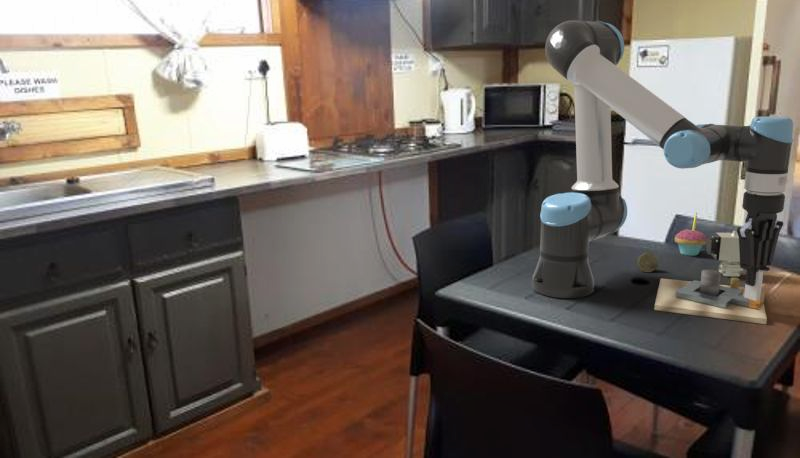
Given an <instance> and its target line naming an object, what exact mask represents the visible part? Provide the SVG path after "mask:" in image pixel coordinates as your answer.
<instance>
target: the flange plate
mask: <svg viewBox="0 0 800 458" xmlns="http://www.w3.org/2000/svg"><path fill="white" fill-rule="evenodd" d="M700 284H701V280H695V279H694V280H692V281H691V283H689V284H687V285H686V286H684V287H683V288H681V289H679V290H678V291H676V294H675V297H679V298H683V299H687V300H692V301H696V302H700V303H705V304H709V305H713V306H718V307H722V308H727V307H728V306H729V305H731V304H737V305H741V306H746V307H750V308H755V309H760V308H761V307H762V306H763V305H764V306H765V304H764V303H765V296H766V289H767V284H766V283H762V288H761V297H760V300H758V301H754V300H751V299H748V298H744V296H742V295H743V290H739V289H734V288H730V287H725V286H720V288H719V294H721V295H719V296H718V297H716V296H711V295H707V294H702V293H698V292H700Z"/></svg>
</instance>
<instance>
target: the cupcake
mask: <svg viewBox="0 0 800 458" xmlns="http://www.w3.org/2000/svg"><path fill="white" fill-rule="evenodd" d="M697 214H698V213H697V212H695V215H694V216H693V217H694V218H693V224H692V229H683V230H681V231H679V232H678V233H675V236H674V243H677V245H678V249H679V253H680V254H681V255H683V254H684V256H689V257H691V256H694V257H695V256H697V255H698V256H699V253H700V251H701V248H702V247H703V246H704V245H707V239H708V237H707V236H706V235H705V233H703V232H702V231H700V230H697V229H696V227H697V226H696V224H697V218H698V215H697Z"/></svg>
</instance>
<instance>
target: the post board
mask: <svg viewBox="0 0 800 458" xmlns="http://www.w3.org/2000/svg"><path fill="white" fill-rule="evenodd" d="M700 275H701V276H700V281H701V284H700V292H698V293H702V294H707V295H711V296H716V297H718V296H719V295H721V294H719V288H720V286H725V287H730V288H734V289H739V290H743V295H742V296H744V293H745V286H740V279H741V278H739V277H730V285H726V284H725V285H724V284H721V280H722V279H721V277H722V273H721V272H719V270H717V269H702V270H701V274H700ZM691 282H692V281H688V280H681V279H670V278H660V280H659V285H658V288H657V293H656V298H655V303H654V311H660V312H668V313H675V314H682V315H690V316H697V317H698V316H699V317H708V318H715V319H722V320H728V321H729V320H730V321H739V322H744V323H751V324H752V323H753V324H761V325H767V321H768V318H767V314H766V309H765V304H764V305H763V306H762V307H761V308H760V309H755V308H750V307H746V306H741V305H737V304H731V305H729V306H728V307H727V308H722V307H718V306H713V305H709V304H705V303H700V302H696V301H692V300H687V299H683V298H679V297H675V294H676V291H678V290H679V289H681V288H683V287H684V286H686V285H687V284H689V283H691Z"/></svg>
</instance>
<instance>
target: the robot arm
mask: <svg viewBox="0 0 800 458" xmlns="http://www.w3.org/2000/svg"><path fill="white" fill-rule="evenodd" d="M544 51H545V57H546V59H547V61H548V63H549V65H550V66H551V67H552V68H553V69H554V70H555V71H556V72H557V73H558V74H560V75H561V76H562V78H563V77H564V78H565V79H566V80H567V82H569V83H570V84H571V86H573V87H574V88H573V89H574V90H573V91H574V92H573V93H574V122H575V145H576V146H575V148H576V149H575V150H576V151H575V153H576V155H575V157H576V176H577V179H576V182H575V183H573V185H572V186H571V192H564V193H556V194H553V195H549V196H547V197H546V198H545V199H544V200H543V202H542V203H541V209H540V214H539V215H540V216H539V217H540V229H539V231H540V235H539V236H540V237H539V238H540V240H539V259H538V262H537V264H536V267H535V269H534V273H533V275H532V278H531V288H532V290H533V291H534V292H536V293H538V294H540V295H543V296H547V297H552V298H560V299H575V298H576V299H577V298H583V297H587V296H589V295H591V294H593V293H594V291H595V280H594V279H595V278H594V276H593V272H592V269H591V265H590V262H589V247H590V242H592V241H595V240H598V239H601V238H606V237H608V236H610V235H612V234H614V233H616V232H618V231H619V230H620V229H621V228H622V226H624V224H625V222H626V220H627V216H628V205H627V202H626V199H625V198H623V197H622V195H621V193H620V188H619V184H618V183H617V182H616V181H615V180H614V179H613V161H612V159H613V156H612V152H613V151H612V115H611V114H612V112H611V110H613V111H614V112H615V113H616V114H618V115H619V116H620V117H621V118H623V119H624V120H625V121H627V122H628V123H629V124H630V125H631V126H633V128H636V129H637V130H638V131H639V132H641V133H642V134H643V135H644V136H646V137H647V138H648V139H649V140H651V142H653V143H654V144H656V145H657V146H658V147H660V148H661V149H662V150H663V155H664V157H665V160H666V161H667V163H669V165H671V166H672V167H674V168H676V169H677V168H678V169H681V170H683V169H694V168H699V167H700V166H702V165H703V166H704V165H705V164H706V165H707V164H710V163H715V162H718V161H729V162H739V163H740V162H741V163H744V162H745V163H746V169H745V176H744V177H745V179H744V185H743V186H744V187H743V189H744V191H745V192H743V197H742V206H741V207H742V209H743V210H744V211H746V213H747V214H746V217H745V219H744V220H745V222H744V223H745V224H744V225H743V226H742V227H741V226H738V227H737V229H736V231H737V234H738V237H739V252H740V262H739V264H740V267H741V268H742V269H743V270H746V274H745V275H746V276H745V277H746V278H745V286H744V287H745V293H744V298H748V299H751V300H754V301H758V300H760V297H761V288H762V284H763V280H764V271H766V272H769V271H770V266H771V265H772V263H773V260H774V256H775V251H776V247H777V244H778V240H779V236H780V232H781V230H782V229H783V226H784V221H781V220H778V214H780V213H782V212H783V211H784V208H785V200H786V195H785V194H784V192H786V191H787V190H786V189H787V183H788V182H789V179H788V172H789V167H790V166H789V165H790V161H791V160H790V158H791V154H792V153H791V151H792V146H793V145H792V144H793V143H794V139H793V133H794V121H793V120H792V119H791V118H790V117H789V116H788V117H786V116H777V115H776V116H754V117H753V118H752V119H751V123H750V124H749V125H730V124H727V125H725V124H715V123H707V124H706V123H705V124H701V123H700V124H697V125H696V124H695V123H693V122H692V121H690V120H689V119H688V118H686V116H684V115H683V114H682V113H680V112H679V111H677V110H676V109H675V108H673V107H672V106H670V105H669V104H668V103H666V102H665V101H664V100H663V99H661V98H660V97H659V96H657V95H656V94H655V93H653V92H652V91H651V90H649V89H648V88H647V87H645V86H644V85H642V84H641V83H639V81H637V80H636V79H635V78H634V77H631V76H630V75H629V74H628V73H626V72H625V71H623V70H622V69H621V68H620V67H618V66H617V65H618V64H619V63H620V61H621V60H622V58H623V56H624V52H625V41H624V38H623V35H622V33H621V32H620V30H619V29H618V28H617V27H616V26H614V25H613V24H611V23H607V22H604V21H600V20H595V21H594V20H593V21H592V20H578V19H577V20H575V19H574V20H573V19H572V20H566V21H563V22H561V23H558V24H557V25H556V26H555V27H554V28H553V29H551V31H550V33H549V34H548V36H547V38H546V41H545V47H544Z"/></svg>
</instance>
